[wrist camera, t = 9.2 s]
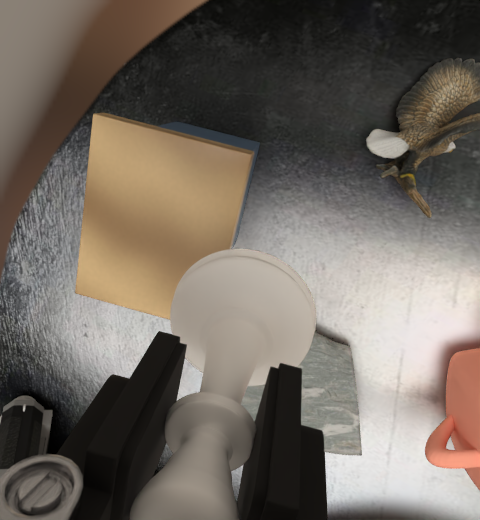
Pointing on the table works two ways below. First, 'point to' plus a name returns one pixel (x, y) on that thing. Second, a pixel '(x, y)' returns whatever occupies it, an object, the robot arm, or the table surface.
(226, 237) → the board
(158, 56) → the table surface
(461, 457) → the teapot
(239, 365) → the chess piece
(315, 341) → the decorative stone
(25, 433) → the camera
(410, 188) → the eagle figurine
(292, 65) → the table surface
